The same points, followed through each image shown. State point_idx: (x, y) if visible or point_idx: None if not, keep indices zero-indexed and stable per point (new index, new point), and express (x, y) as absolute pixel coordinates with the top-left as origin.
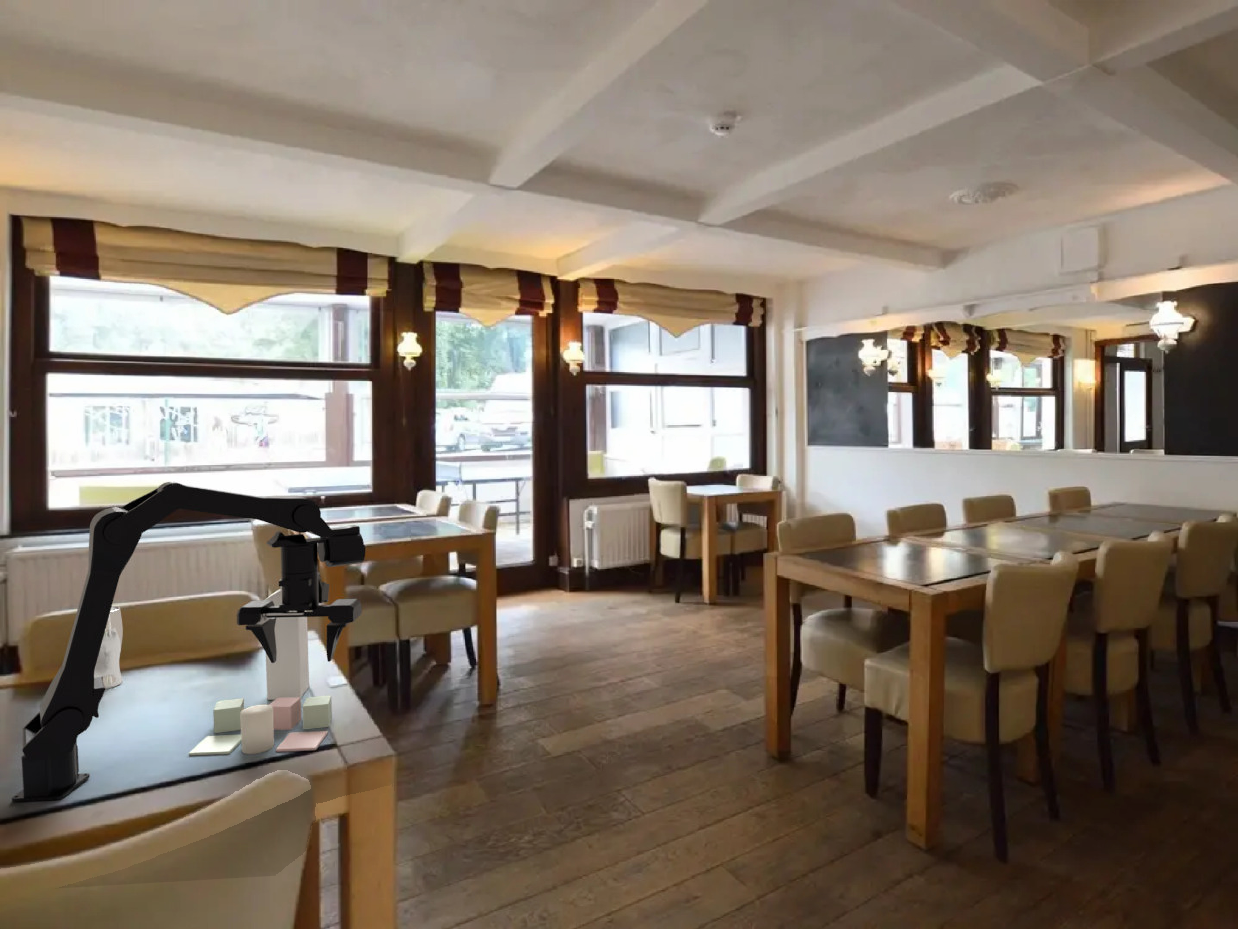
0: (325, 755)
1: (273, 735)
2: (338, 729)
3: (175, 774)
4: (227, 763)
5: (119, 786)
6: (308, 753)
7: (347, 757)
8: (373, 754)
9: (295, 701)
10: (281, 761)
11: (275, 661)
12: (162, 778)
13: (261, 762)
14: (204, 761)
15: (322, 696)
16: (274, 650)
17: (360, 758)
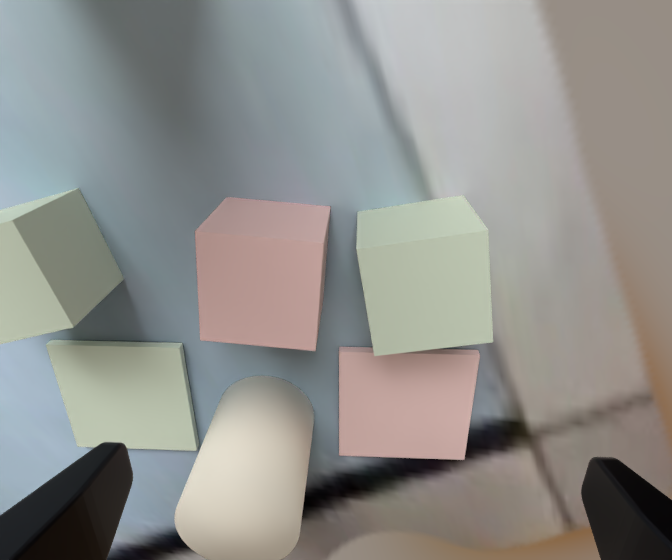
0: (500, 482)
1: (309, 432)
2: (513, 318)
3: (124, 521)
4: None
5: None
6: (444, 466)
7: (569, 499)
8: None
9: (316, 295)
10: (378, 497)
11: (126, 454)
12: None
13: (322, 495)
14: (153, 473)
15: (441, 243)
16: (72, 555)
17: None
